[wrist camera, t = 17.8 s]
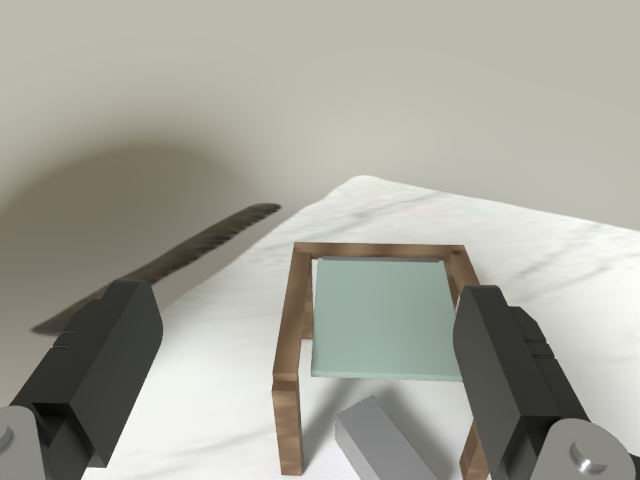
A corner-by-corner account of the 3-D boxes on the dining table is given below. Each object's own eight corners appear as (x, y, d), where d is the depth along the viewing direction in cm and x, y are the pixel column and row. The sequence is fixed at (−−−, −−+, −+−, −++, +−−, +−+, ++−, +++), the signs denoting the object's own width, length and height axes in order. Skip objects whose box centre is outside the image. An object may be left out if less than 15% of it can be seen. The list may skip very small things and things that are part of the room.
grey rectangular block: (335, 439, 45) (401, 541, 38) (335, 415, 43) (406, 518, 35) (369, 420, 47) (438, 512, 40) (371, 395, 45) (446, 489, 37)
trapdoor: (311, 377, 39) (310, 370, 38) (318, 260, 49) (318, 253, 48) (466, 382, 38) (469, 375, 37) (440, 263, 48) (442, 256, 48)
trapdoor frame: (281, 474, 42) (270, 383, 34) (299, 327, 59) (294, 242, 51) (484, 483, 41) (523, 391, 33) (444, 331, 58) (463, 245, 50)
